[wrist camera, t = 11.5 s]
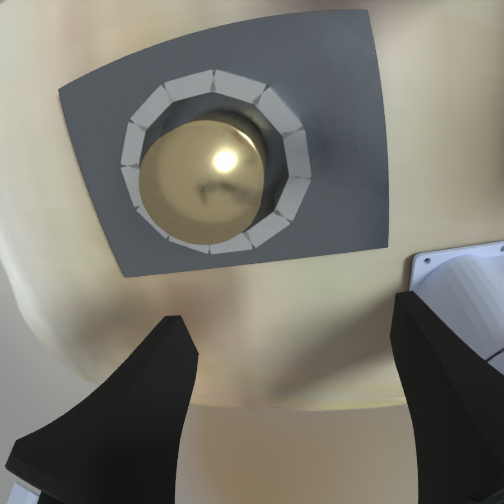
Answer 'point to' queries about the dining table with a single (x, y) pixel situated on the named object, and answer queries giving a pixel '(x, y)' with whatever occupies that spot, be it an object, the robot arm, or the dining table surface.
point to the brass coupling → (205, 178)
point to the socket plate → (263, 119)
